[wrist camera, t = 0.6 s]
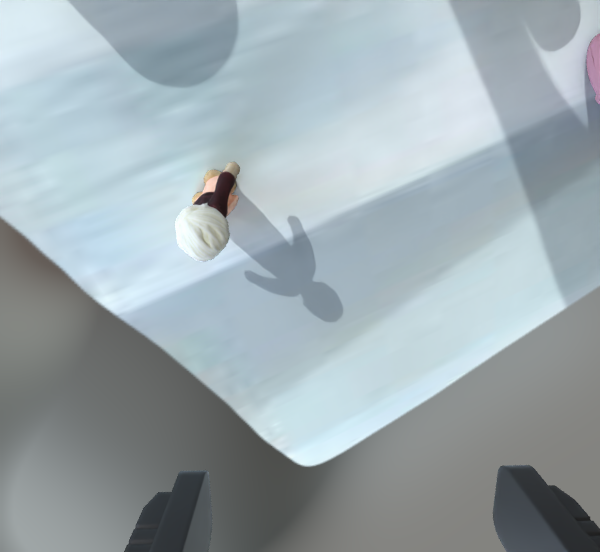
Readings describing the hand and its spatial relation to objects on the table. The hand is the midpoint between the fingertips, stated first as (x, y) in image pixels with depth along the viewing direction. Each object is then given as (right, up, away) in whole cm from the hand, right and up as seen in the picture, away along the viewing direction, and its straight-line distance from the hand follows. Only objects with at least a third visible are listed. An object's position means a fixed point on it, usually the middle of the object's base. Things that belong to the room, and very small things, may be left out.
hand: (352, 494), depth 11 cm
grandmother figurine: (-9, +14, +24) cm, 29 cm away
